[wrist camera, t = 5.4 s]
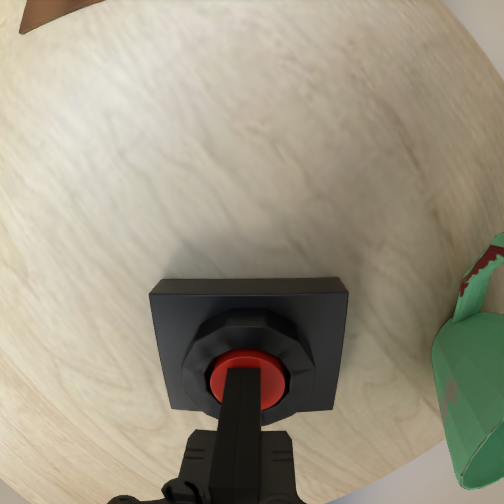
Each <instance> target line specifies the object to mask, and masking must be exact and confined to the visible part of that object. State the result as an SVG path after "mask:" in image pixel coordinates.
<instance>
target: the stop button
mask: <svg viewBox="0 0 504 504" xmlns="http://www.w3.org/2000/svg"><path fill="white" fill-rule="evenodd" d="M227 368H261V410H263V409H266V408H268V407H270V406H272V405H274V404H275V403H276V402H277V401H278V400H279V399H280V398H281V396H282V395H283V393H284V390H285V376H284V365H283V362H282V361H281V359H280V358H278V357H276V356H274V355H272V354H269V353H267V352H265V351H263V350H261V349H237V348H234V349H232V350H230V351H228V352H226V353H223V354H221V355H219V356H217V357H216V358H215V362H214V366H213V370H212V375H211V379H210V386H211V389H212V392H213V394H214V396H215V397H216V398H217V399H218V400H219V401H220V402H221V403H222V397H223V391H224V385H225V379H226V373H227Z"/></svg>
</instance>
